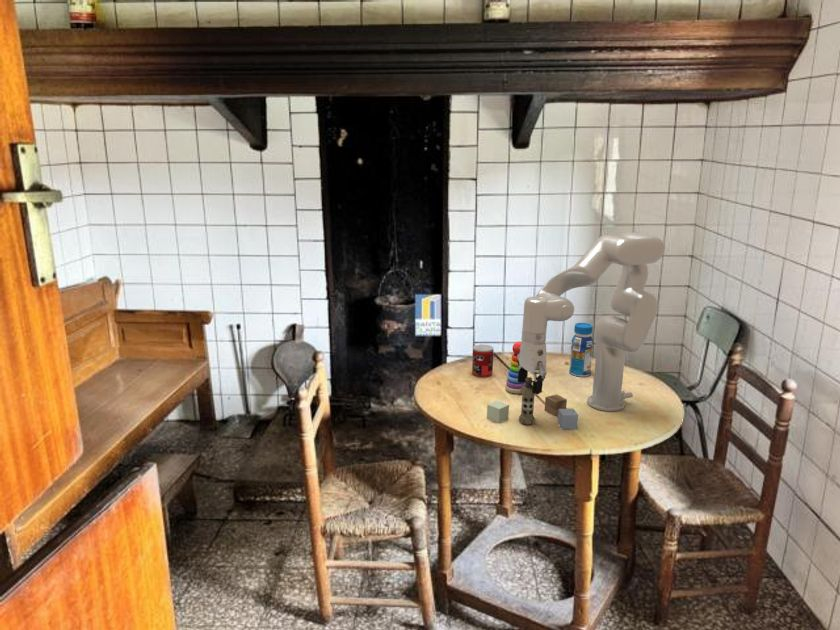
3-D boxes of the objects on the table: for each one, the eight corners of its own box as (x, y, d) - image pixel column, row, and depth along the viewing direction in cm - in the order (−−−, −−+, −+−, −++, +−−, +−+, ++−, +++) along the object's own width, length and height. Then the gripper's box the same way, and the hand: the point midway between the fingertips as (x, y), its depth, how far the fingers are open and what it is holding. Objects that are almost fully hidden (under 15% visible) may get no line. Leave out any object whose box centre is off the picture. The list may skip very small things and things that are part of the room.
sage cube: (496, 414, 213) (497, 400, 212) (508, 418, 210) (509, 404, 209) (486, 418, 210) (487, 404, 209) (498, 423, 207) (499, 409, 205)
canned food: (469, 371, 252) (469, 345, 249) (487, 369, 254) (488, 343, 251) (476, 378, 245) (477, 351, 242) (495, 376, 247) (496, 349, 244)
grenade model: (540, 425, 205) (543, 382, 201) (519, 424, 205) (521, 381, 201) (538, 417, 211) (541, 374, 207) (517, 416, 212) (520, 374, 208)
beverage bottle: (566, 369, 255) (569, 321, 249) (586, 369, 255) (591, 321, 250) (572, 377, 247) (576, 328, 241) (593, 377, 247) (598, 327, 242)
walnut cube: (555, 407, 219) (556, 394, 218) (565, 413, 215) (566, 399, 213) (544, 410, 217) (545, 396, 215) (554, 416, 212) (555, 402, 211)
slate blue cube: (572, 422, 208) (573, 408, 206) (577, 429, 203) (578, 415, 202) (557, 423, 207) (558, 408, 206) (561, 429, 203) (562, 415, 201)
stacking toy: (507, 394, 230) (509, 345, 225) (503, 386, 237) (505, 338, 232) (528, 394, 230) (531, 345, 225) (524, 386, 238) (527, 338, 233)
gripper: (558, 343, 194) (553, 396, 198) (531, 328, 209) (527, 377, 214) (536, 345, 191) (532, 398, 196) (510, 329, 207) (506, 378, 211)
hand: (529, 387), depth 205 cm, fingers open, 9 cm apart
